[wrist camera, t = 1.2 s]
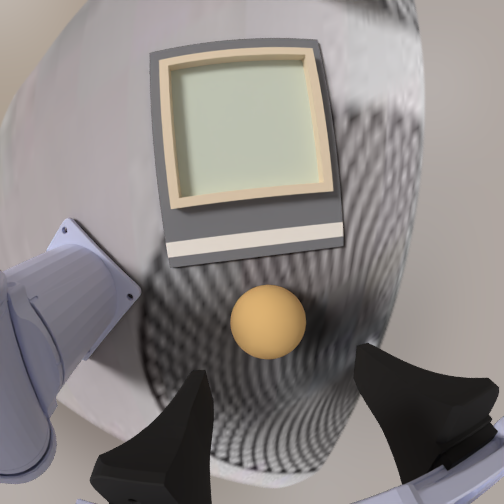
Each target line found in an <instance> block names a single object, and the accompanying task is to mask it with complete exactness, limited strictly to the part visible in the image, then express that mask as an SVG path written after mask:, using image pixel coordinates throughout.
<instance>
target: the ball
mask: <svg viewBox="0 0 504 504" xmlns="http://www.w3.org/2000/svg"><path fill="white" fill-rule="evenodd" d="M230 324H231V331H232V334H233V337H234V339H235V341H236V342H237V344H238V345H239V346H240V347H241V349H243V350H244V351H245V352H246V353H248V354H250V355H252V356H254V357H256V358H260V359H276V358H279V357H282V356H284V355H286V354H288V353H290V352H291V351H292V350H294V349H295V348H296V347H297V345H298V344H299V343H300V341H301V339H302V337H303V335H304V332H305V327H306V316H305V312H304V309H303V306H302V304H301V303H300V301H299V300H298V298H297V297H296V296H295V295H294V294H293V293H291V292H290V291H288V290H287V289H285V288H282V287H279V286H275V285H262V286H257V287H255V288H252V289H250V290H249V291H247V292H246V293H244V294H243V295H242V296H241V297H240V298H239V299H238V301H237V302H236V304H235V306H234V308H233V310H232V314H231V322H230Z"/></svg>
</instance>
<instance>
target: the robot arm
mask: <svg viewBox="0 0 504 504" xmlns="http://www.w3.org/2000/svg"><path fill="white" fill-rule="evenodd" d="M65 227H66V228H67V233H66V232H65ZM128 294H132V296H133V298H130V297H129V296H128ZM140 295H141V288H140V287H139V286H138V285H137V284H136V283H135V282H134V281H133V280H132V279H131V278H130V277H129V276H128V275H127V274H126V273H125V272H124V271H123V270H121V269H120V268H119V267H118V266H117V265H116V264H115V263H114V262H113V261H112V260H111V259H110V258H109V257H108V256H107V255H106V254H105V253H104V252H103V251H102V250H101V249H100V247H99V246H98V245H97V244H96V243H95V242H94V241H93V240H92V239H91V238H90V237H89V236H88V235H87V234H86V233H85V232H84V231H83V229H82V228H81V227H80V226H79V225H78V224H77V223H76V222H75V221H74V220H73V219H72V218H67V219H65V220H64V221H63V223H62V225H61V226H60V228H59V230H58V231H57V233H56V235H55V236H54V238H53V240H52V241H51V243H50V245H49V247H48V248H47V250H46V252H44V253H42V254H40V255H38V256H35V257H33V258H31V259H29V260H26V261H24V262H22V263H20V264H18V265H15V266H13V267H11V268H9V269H7V270H5V271H3V272H2V271H1V270H0V483H8V484H20V483H26V482H29V481H32V480H34V479H36V478H37V477H39V476H40V475H42V474H43V473H44V472H45V471H46V470H47V469H48V467H49V466H50V465H51V463H52V461H53V459H54V456H55V453H56V446H57V443H56V434H55V431H54V428H53V426H52V423H51V421H50V419H49V418H50V417H51V415H52V414H53V412H54V411H55V409H56V407H57V402H56V396H57V394H58V392H59V391H60V389H61V388H62V387H63V385H64V384H65V382H66V381H67V380H68V378H69V377H70V375H71V374H72V373H73V371H74V370H75V369H76V367H77V366H78V364H79V363H80V362H81V360H88V358H89V357H90V356H91V354H92V353H93V352H94V351H95V349H96V348H97V347H98V346H99V344H100V343H101V342H102V341H103V339H104V338H105V337H106V336H107V335H108V333H109V332H110V331H111V330H112V328H113V327H114V326H115V325H116V324H117V322H118V321H119V320H120V319H121V318H122V316H123V315H124V314H125V313H126V312H127V311H128V309H129V308H130V307H131V306H132V305H133V303H134V302H135V301H136V300H137V299H138V298H139V296H140ZM354 380H355V382H356V385H357V387H358V389H359V392H360V394H361V395H362V397H363V398H364V400H365V402H366V404H367V405H368V407H369V408H370V410H371V412H372V413H373V415H374V416H375V418H376V420H377V421H378V423H379V425H380V427H381V428H382V430H383V432H384V435H385V437H386V439H387V441H388V444H389V446H390V449H391V452H392V454H393V457H394V460H395V462H396V465H397V468H398V472H399V475H400V479H401V482H402V485H400V486H398V487H394V488H392V489H390V490H387V491H385V492H382V493H380V494H377V495H375V496H371V497H369V498H366V499H363V500H360V501H357V502H354V503H351V504H470V503H472V502H473V501H474V500H475V499H477V498H478V497H479V496H481V495H482V494H483V493H484V492H486V491H487V490H488V489H489V488H490V487H491V486H493V485H494V484H495V483H496V482H498V481H499V480H500V479H501V478H502V477H503V476H504V416H503V417H502V418H501V419H499V420H498V421H497V422H496V423H495V424H494V426H493V425H492V424H491V423H490V422H491V420H492V418H491V417H490V416H489V413H490V411H491V409H492V407H493V406H494V404H495V402H496V399H497V397H498V394H499V387H498V386H497V385H496V384H494V382H492V381H491V380H490V379H489V378H463V377H454V376H448V375H443V374H439V373H435V372H431V371H428V370H424V369H422V368H419V367H416V366H414V365H411V364H409V363H407V362H404V361H403V360H400V359H398V358H396V357H394V356H392V355H390V354H388V353H387V352H385V351H383V350H381V349H379V348H377V347H375V346H373V345H371V344H369V343H366V344H362V345H358V346H357V349H356V359H355V369H354ZM213 422H214V405H213V398H212V394H211V390H210V387H209V383H208V379H207V375H206V371H205V370H197V371H192V372H191V373H190V374H189V376H188V378H187V379H186V381H185V382H184V384H183V385H182V387H181V388H180V390H179V391H178V393H177V394H176V395H175V397H174V398H173V400H172V401H171V402H170V403H169V405H168V406H167V407H166V408H165V409H164V411H163V412H162V413H161V414H160V415H159V416H158V417H157V418H156V419H155V420H154V421H153V422H152V423H151V424H150V425H149V426H147V427H146V428H145V429H144V430H142V431H141V432H140V433H139V434H137V435H136V436H134V437H133V438H131V439H130V440H128V441H127V442H125V443H123V444H122V445H120V446H118V447H116V448H114V449H112V450H110V451H108V452H106V453H104V454H101V455H99V457H98V459H97V461H96V463H95V466H94V469H93V472H92V475H91V477H90V483H91V485H92V486H93V487H94V488H95V490H96V491H98V492H99V494H101V495H102V496H103V497H104V498H105V499H106V500H107V501H108V502H109V504H212V501H211V487H210V450H211V441H212V432H213ZM76 504H96V503H92V502H88V501H85V500H81V499H77V501H76Z"/></svg>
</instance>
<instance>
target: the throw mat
mask: <svg viewBox="0 0 504 504" xmlns="http://www.w3.org/2000/svg"><path fill="white" fill-rule="evenodd" d="M150 95H151V116H152V131H153V144H154V155H155V166H156V175H157V184H158V192H159V200H160V207H161V214H162V221H163V228H164V234H165V240H166V247H167V253H168V258H169V264H170V268H171V267H180V266H188V265H196V264H204V263H213V262H221V261H229V260H237V259H245V258H253V257H261V256H269V255H277V254H285V253H293V252H301V251H309V250H316V249H324V248H332V247H340V246H343V222H342V206H341V192H340V180H339V170H338V160H337V151H336V143H335V135H334V128H333V120H332V114H331V107H330V101H329V95H328V89H327V84H326V79H325V73H324V68H323V63H322V59H321V54H320V49H319V45H318V41H317V40H314V39H296V38H256V39H238V40H225V41H216V42H207V43H200V44H193V45H187V46H181V47H175V48H170V49H165V50H161V51H156V52H152V53H150Z"/></svg>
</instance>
